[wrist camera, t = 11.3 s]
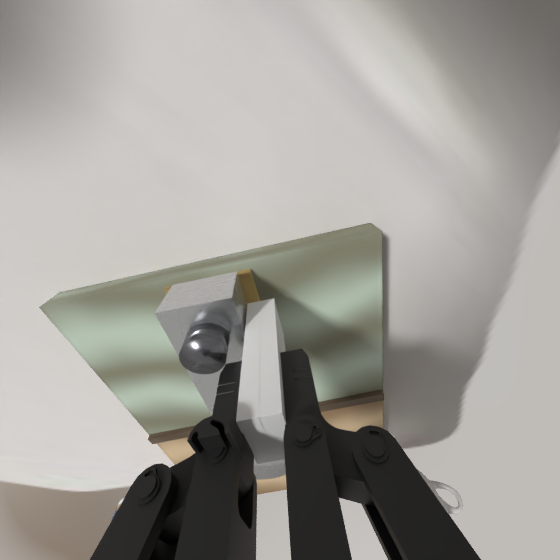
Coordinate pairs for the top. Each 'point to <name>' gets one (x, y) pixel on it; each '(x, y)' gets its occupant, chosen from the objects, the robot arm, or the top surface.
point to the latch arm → (210, 337)
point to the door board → (257, 287)
